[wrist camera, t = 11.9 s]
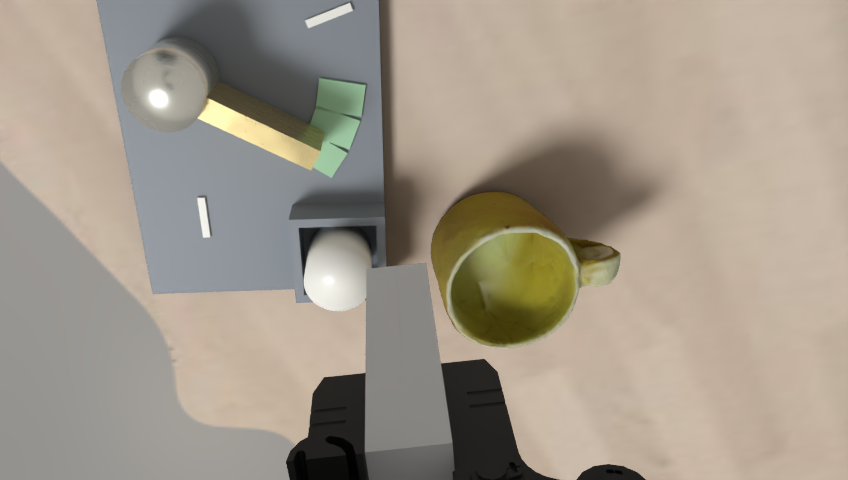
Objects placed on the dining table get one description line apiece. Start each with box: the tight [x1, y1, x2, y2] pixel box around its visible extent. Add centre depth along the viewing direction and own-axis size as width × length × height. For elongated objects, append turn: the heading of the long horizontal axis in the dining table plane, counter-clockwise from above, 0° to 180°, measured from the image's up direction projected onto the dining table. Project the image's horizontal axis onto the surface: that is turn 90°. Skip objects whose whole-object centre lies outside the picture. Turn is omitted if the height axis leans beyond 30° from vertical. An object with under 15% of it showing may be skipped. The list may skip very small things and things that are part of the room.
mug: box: [431, 192, 620, 348], centre depth 51 cm, size 12×10×10 cm
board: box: [96, 0, 386, 303], centre depth 48 cm, size 24×17×4 cm
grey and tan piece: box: [121, 37, 324, 170], centre depth 45 cm, size 12×5×5 cm, turn 62°
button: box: [304, 226, 372, 311], centre depth 49 cm, size 4×4×4 cm
